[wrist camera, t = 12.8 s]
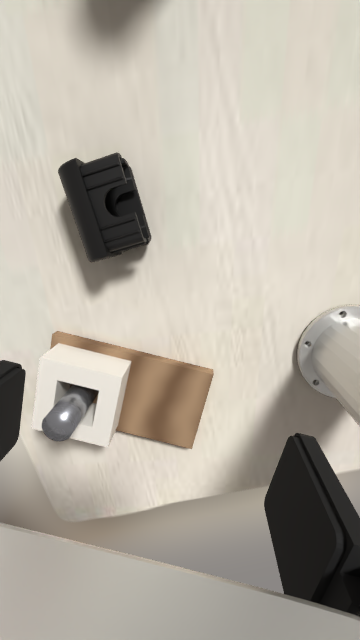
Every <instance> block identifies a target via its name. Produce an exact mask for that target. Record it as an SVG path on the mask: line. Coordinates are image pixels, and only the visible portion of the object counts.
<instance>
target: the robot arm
mask: <svg viewBox="0 0 360 640" xmlns="http://www.w3.org/2000/svg"><path fill="white" fill-rule="evenodd" d="M341 311H342V313H341V314H339V313H340V312H341ZM307 341H308V342H307ZM305 342H307V343H306V344H305ZM297 361H298V366H299V369H300V371H301V373H302V375H303V377H304V378H305V380H306V381H307V382H308V383H309V385H310V386H311V387H312V388H314V389H315V390H317V391H318V392H319V393H322V394H324V395H326V396H329V397H333V398H336V399H337V400H338V401H339V402H340V403H341V405H342V406H343V407H344V408H345V409H346V411H347V412H348V413H349V414H350V415H351V417H352V418H353V419H354V420H355V422H356V423H357V424H358V425H359V426H360V305H346V306H340V307H336V308H333V309H331V310H329V311H327V312H325V313H323V314H321V315H320V316H318V317H317V318H316V319H314V320H313V321H312V322H311V324H310V325H309V326H308V327H307V328H306V330H305V331H304V333H303V334H302V337H301V339H300V341H299V345H298V350H297ZM314 380H315V381H314ZM24 383H25V370H24V369H22V367H21V365H20V364H18V363H13V362H9V361H5V360H2V361H0V461H1V460H2V459H3V458H4V457H5V455H6V454H7V453H8V452H9V451H10V450H11V449H12V447H13V446H14V445H15V444H16V442H17V440H18V437H19V430H20V420H21V411H22V402H23V393H24ZM264 507H265V512H266V517H267V521H268V525H269V530H270V534H271V538H272V543H273V547H274V551H275V556H276V560H277V564H278V569H279V573H280V577H281V581H282V586H283V590H284V594H281V593H278V592H274V591H270V590H267V589H263V588H259V587H255V586H252V585H248V584H244V583H240V582H236V581H232V580H228V579H224V578H220V577H217V576H213V575H209V574H205V573H201V572H197V571H193V570H189V569H186V568H182V567H177V566H174V565H169V564H166V563H162V562H158V561H154V560H150V559H146V558H142V557H138V556H134V555H130V554H126V553H122V552H118V551H114V550H110V549H106V548H102V547H98V546H94V545H90V544H86V543H82V542H78V541H74V540H70V539H65V538H62V537H58V536H54V535H50V534H45V533H41V532H37V531H33V530H29V529H25V528H21V527H16V526H12V525H9V524H4V523H0V640H360V518H359V516H358V514H357V512H356V510H355V509H354V507H353V505H352V503H351V501H350V500H349V498H348V496H347V494H346V493H345V491H344V489H343V488H342V485H341V484H340V482H339V480H338V478H337V476H336V475H335V473H334V471H333V469H332V467H331V466H330V464H329V462H328V460H327V459H326V457H325V455H324V453H323V451H322V450H321V448H320V446H319V444H318V442H317V441H316V439H315V438H314V437H311V436H307V435H303V434H299V433H296V434H295V435H294V436H290V437H289V438H288V440H287V442H286V445H285V448H284V450H283V453H282V455H281V458H280V460H279V463H278V466H277V468H276V471H275V473H274V476H273V478H272V481H271V483H270V486H269V489H268V491H267V494H266V497H265V502H264Z"/></svg>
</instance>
